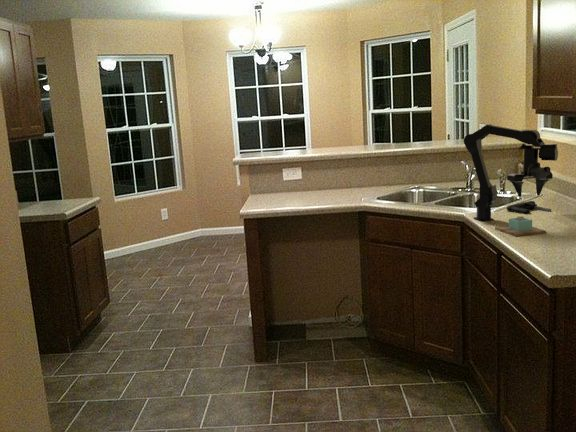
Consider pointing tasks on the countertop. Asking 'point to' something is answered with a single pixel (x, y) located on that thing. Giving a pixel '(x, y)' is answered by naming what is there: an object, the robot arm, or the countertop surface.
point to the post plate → (520, 233)
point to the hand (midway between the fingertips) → (529, 196)
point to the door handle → (526, 207)
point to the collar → (520, 224)
